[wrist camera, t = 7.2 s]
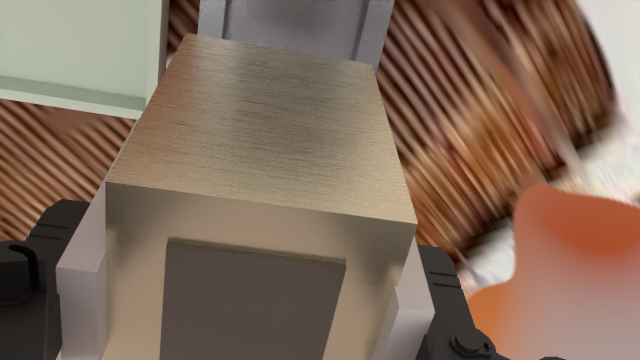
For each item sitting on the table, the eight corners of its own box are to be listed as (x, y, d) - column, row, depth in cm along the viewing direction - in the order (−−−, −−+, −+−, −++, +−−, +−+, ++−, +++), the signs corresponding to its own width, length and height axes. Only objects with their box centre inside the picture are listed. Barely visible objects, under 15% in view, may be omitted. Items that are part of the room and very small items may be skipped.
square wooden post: (175, 191, 22) (104, 400, 14) (186, 33, 19) (102, 185, 11) (336, 213, 22) (354, 424, 15) (371, 63, 19) (419, 228, 11)
